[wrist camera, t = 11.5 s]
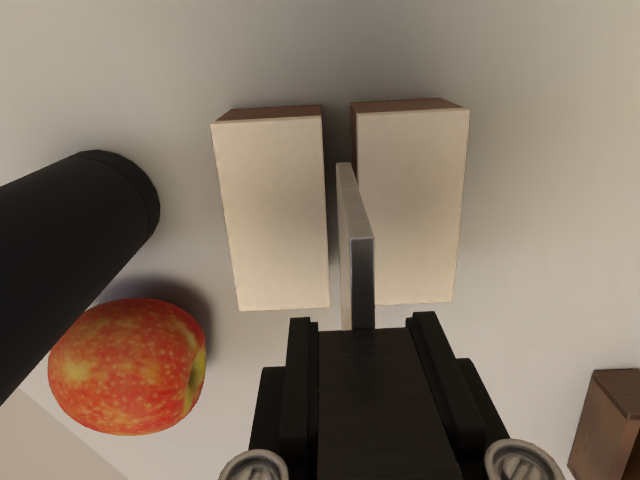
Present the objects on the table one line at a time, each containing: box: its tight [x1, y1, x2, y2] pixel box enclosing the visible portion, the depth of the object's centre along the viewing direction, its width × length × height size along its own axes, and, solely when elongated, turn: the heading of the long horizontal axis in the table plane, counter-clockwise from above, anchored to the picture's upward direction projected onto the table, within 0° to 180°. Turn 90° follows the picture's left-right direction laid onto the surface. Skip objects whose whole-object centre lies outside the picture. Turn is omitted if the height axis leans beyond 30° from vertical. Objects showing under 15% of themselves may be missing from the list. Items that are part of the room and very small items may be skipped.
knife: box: [316, 162, 464, 480], centre depth 13 cm, size 8×2×13 cm, turn 3°
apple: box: [48, 298, 206, 436], centre depth 26 cm, size 8×8×8 cm
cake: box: [210, 105, 331, 312], centre depth 23 cm, size 10×5×5 cm, turn 3°
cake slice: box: [350, 98, 470, 305], centre depth 23 cm, size 10×5×5 cm, turn 3°
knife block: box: [568, 369, 640, 480], centre depth 31 cm, size 10×3×4 cm, turn 3°
